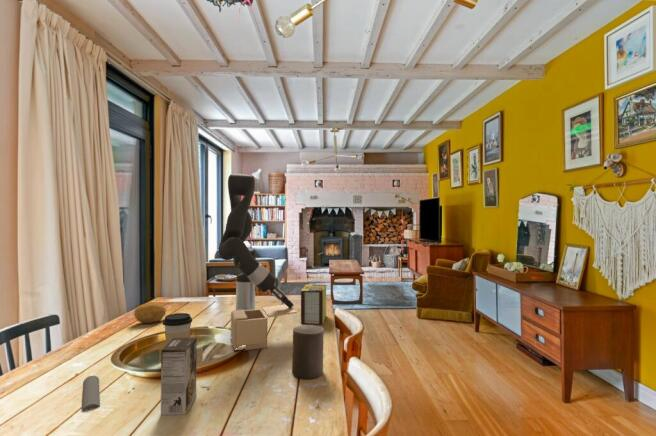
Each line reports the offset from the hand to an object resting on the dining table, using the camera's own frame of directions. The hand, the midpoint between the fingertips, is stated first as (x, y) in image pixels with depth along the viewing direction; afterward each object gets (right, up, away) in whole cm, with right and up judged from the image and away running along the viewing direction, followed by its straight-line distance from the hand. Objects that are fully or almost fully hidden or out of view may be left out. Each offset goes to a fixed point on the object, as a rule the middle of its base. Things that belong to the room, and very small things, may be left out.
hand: (291, 306), depth 144 cm
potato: (-68, -13, +21) cm, 72 cm away
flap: (-10, -1, -4) cm, 11 cm away
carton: (-16, -13, -6) cm, 21 cm away
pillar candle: (+8, -13, -32) cm, 36 cm away
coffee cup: (-36, -13, -23) cm, 45 cm away
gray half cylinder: (-50, -13, -46) cm, 70 cm away
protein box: (+8, -13, +27) cm, 32 cm away
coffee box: (-24, -13, -52) cm, 59 cm away
